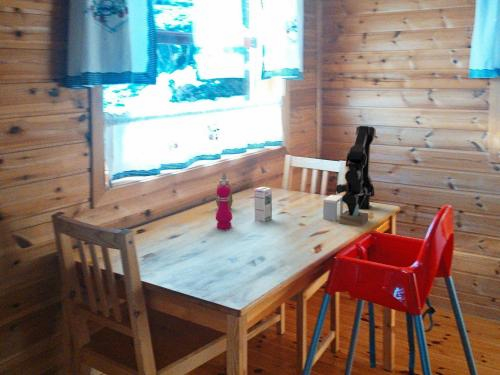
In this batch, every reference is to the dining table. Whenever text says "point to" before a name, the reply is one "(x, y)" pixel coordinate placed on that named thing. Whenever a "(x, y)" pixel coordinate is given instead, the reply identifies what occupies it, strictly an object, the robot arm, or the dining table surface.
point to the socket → (353, 219)
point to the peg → (356, 211)
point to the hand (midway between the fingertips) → (354, 213)
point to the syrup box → (263, 203)
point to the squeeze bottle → (226, 185)
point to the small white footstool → (332, 207)
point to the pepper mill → (223, 207)
